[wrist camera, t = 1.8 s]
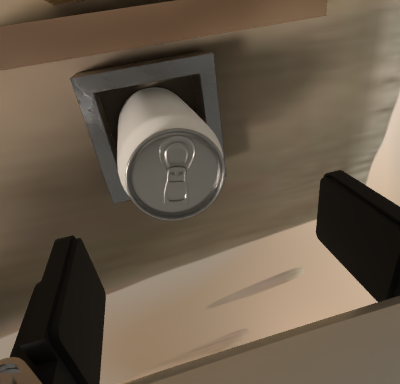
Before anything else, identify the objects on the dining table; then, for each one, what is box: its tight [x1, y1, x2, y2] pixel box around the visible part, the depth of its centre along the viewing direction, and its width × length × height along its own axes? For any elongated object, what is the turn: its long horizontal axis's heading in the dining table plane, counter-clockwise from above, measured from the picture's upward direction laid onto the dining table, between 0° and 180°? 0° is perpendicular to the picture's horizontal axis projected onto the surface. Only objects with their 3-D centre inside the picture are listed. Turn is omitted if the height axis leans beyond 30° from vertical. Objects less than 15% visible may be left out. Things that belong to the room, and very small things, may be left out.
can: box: [117, 87, 225, 221], centre depth 21 cm, size 6×6×12 cm
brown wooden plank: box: [0, 0, 327, 70], centre depth 19 cm, size 2×24×7 cm, turn 98°
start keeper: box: [70, 51, 226, 204], centre depth 25 cm, size 10×10×4 cm
